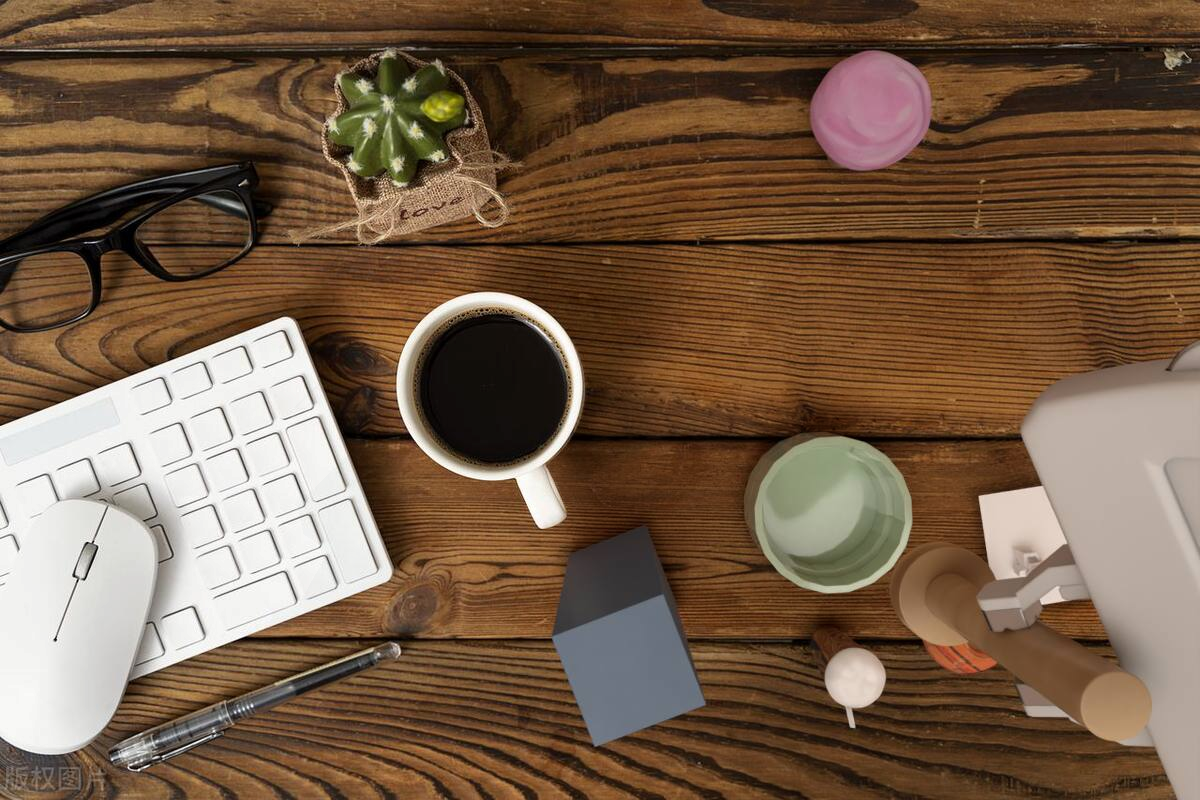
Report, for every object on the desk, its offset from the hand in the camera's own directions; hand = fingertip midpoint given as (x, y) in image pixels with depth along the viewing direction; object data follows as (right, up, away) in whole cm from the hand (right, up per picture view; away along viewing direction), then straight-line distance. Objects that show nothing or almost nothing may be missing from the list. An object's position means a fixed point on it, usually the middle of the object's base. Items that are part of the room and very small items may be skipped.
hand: (1004, 648), depth 35 cm
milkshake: (+2, -11, +38) cm, 39 cm away
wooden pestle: (+1, +1, +9) cm, 9 cm away
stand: (-15, -5, +37) cm, 40 cm away
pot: (+13, -8, +37) cm, 40 cm away
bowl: (+1, +2, +37) cm, 37 cm away
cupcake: (+4, +33, +36) cm, 49 cm away
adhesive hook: (+19, -2, +37) cm, 42 cm away
